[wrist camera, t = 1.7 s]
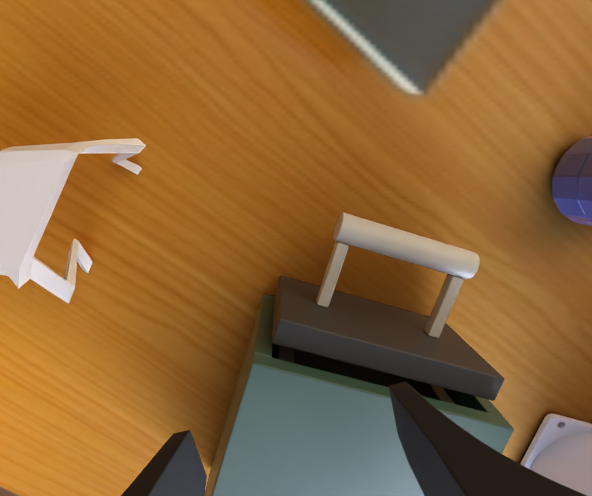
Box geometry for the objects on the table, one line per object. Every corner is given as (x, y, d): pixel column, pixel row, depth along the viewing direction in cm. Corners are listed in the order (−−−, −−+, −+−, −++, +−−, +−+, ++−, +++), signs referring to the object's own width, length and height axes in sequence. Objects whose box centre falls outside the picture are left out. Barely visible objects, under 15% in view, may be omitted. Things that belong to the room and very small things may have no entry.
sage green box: (263, 293, 21) (252, 362, 13) (435, 340, 22) (515, 428, 14) (210, 470, 24) (175, 611, 16) (366, 503, 25) (402, 650, 17)
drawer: (304, 196, 19) (313, 208, 13) (474, 248, 20) (553, 281, 14) (226, 449, 22) (206, 548, 16) (374, 482, 23) (404, 587, 18)
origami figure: (62, 319, 21) (-4, 364, 16) (-58, 221, 19) (-170, 238, 15) (197, 183, 19) (169, 187, 15) (79, 65, 18) (4, 26, 13)
